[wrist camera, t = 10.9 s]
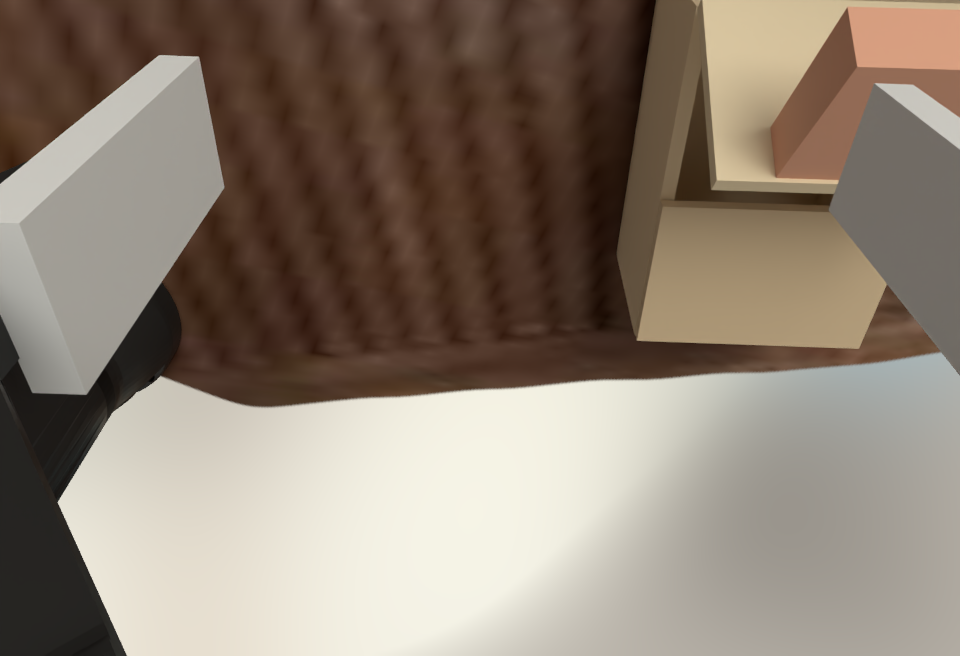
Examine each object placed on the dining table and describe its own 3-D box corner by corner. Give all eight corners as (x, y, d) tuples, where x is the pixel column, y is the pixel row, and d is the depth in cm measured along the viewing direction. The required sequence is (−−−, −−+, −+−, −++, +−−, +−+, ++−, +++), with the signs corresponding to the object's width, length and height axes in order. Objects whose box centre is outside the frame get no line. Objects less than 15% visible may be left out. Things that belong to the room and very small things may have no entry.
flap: (711, 190, 31) (781, 69, 24) (697, 9, 34) (755, -147, 27) (1038, 200, 31) (1211, 82, 24) (993, 17, 34) (1133, -137, 27)
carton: (616, 254, 55) (636, 343, 46) (661, -37, 43) (700, 11, 34) (803, 260, 54) (859, 351, 46) (903, -30, 42) (1004, 19, 34)
